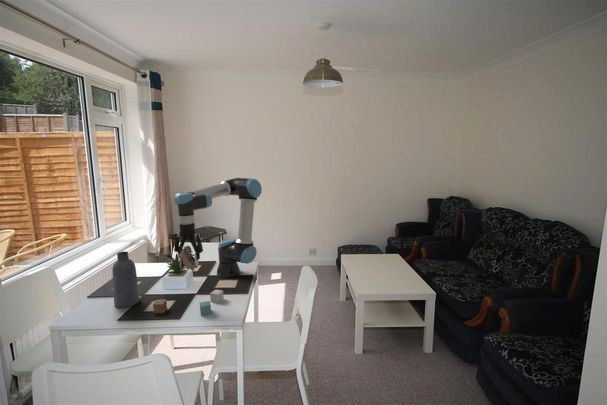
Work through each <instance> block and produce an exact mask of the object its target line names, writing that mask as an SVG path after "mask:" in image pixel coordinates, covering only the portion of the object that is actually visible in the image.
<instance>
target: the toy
mask: <svg viewBox="0 0 607 405" xmlns="http://www.w3.org/2000/svg"><path fill="white" fill-rule="evenodd" d="M181 247H182V246H181ZM182 248H183V249H182V250H181V256H180V259H179V262H178V263H179V264H178V266H179V268H180V270H182V271H184V269H183V268H186V269H187V271H189V270H191V271H192V272H194V270H195V269H196V268H198V265H197V266H195V256H194V254H193V250H192V248H191V246H190V245H186V246H185V245H184V246H183V247H182ZM183 262H184V264H183Z"/></svg>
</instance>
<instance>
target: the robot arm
mask: <svg viewBox="0 0 607 405" xmlns="http://www.w3.org/2000/svg"><path fill="white" fill-rule="evenodd" d="M261 195H262V185H261V183H260V181H259V180H258V179H256V178H247V177H234V178H229V179H227V180H223V181H221V182H220V183H218V184H214V185H210V186H206V187H204V188H200V189H199V188H198V189H196V190H192V191H187V192H177V193H176V194H175V195H174V199H173V200H174V203H175V204H176V206H177V210H178V223H179V226H178V227H179V232H175V233H174V248H173V251H174V253H177V257H178V258H177V259H179V260H180V256H181V250H182V249H184V246H185V243H186V241H188V242H189V243H190V244H191V245H192V248H193V250H194V254H193V255H194V256H193V257H194V258H195V266H197V267H198V266H199V265H200V263H199V261H200V258H201V253H203V252H204V249H203V248H204V247H203V242H202V239H201V233H196V230H195V229H196V226H195V211H197V210H203V209H207V208H211V207H212V205H213V199H216V198H218V197H222V196H225V197H228V196H237V197H238V200H239V201H240V208H239V220H238V223H239V224H238V233H237V234H238V235H237V239H235V238H229V239H224V240H221V241H219V242H218V249H217V250H218V251H217V252H218V266H217V269H216V276H217V277H219V278H223V279H225V278H226V279H228V278H229V279H230V278H234V277H237V276H239V275H240V273H241V269H240V267H239V264H238V263H241V264H251V263H252V262H253V261H254V260H255V258H256V256H257V252H258V250H257V248H256V247H255V246H254V241H253V240H252V238H253V237H252V236H253V235H252V234H253V222H254V212H255V203H256V202H257V201H258V198H259V197H260V196H261ZM180 237H181V238H180ZM181 246H182V247H183V248H182V247H181ZM183 264H184V262H183ZM184 265H185V264H184Z"/></svg>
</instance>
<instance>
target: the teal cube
mask: <svg viewBox="0 0 607 405" xmlns="http://www.w3.org/2000/svg"><path fill="white" fill-rule="evenodd" d="M199 311H200V312H199V313H200V317H202V316H208V315H212V306H211V300H207V301H202V302H199Z"/></svg>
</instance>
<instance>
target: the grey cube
mask: <svg viewBox="0 0 607 405" xmlns="http://www.w3.org/2000/svg"><path fill="white" fill-rule="evenodd" d="M209 295H210V296H209V297H210V303H215V304H216V303H217V304H219V303H221V302H222V301H223V300H224V290H221V289H214V290H213V291H211V292H210V293H209Z"/></svg>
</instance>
